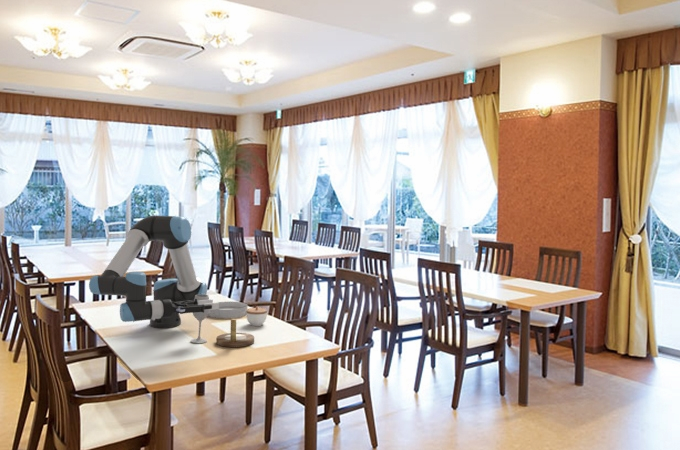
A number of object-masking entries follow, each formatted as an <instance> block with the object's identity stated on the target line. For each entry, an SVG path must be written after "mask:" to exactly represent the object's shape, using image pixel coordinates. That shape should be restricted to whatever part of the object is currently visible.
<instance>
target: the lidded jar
mask: <svg viewBox="0 0 680 450" xmlns="http://www.w3.org/2000/svg"><path fill="white" fill-rule="evenodd" d="M267 316H268V310H267V308H263V307H259V306H255V307H251V308H247V310H246V320H247V322H248V323H249V324H250V326H252V327H261V326H263V324H265V322H266V320H267V318H268V317H267Z"/></svg>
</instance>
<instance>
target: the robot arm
mask: <svg viewBox="0 0 680 450" xmlns="http://www.w3.org/2000/svg"><path fill="white" fill-rule="evenodd" d="M126 236H127V238H126V239H125V240H124V242H123V243H122V245H121V247H120V248H118V251H117V252H116V253H115V255H114V256H113V258H112V259H111V261H110V262H109V263H108V265H107V267H106V268H105V269H104V271H103V272H102V273H101V274H100V275H99V274H97V275H93V276H92V277H91V278H90V279H89V283H88V288H89V291H90V293H92V294H94V295H100V296H120V297H121V296H123V297H124V296H125V302H122V303H121V304H120V305H119V317H120V320H121V321H122V322H125V323H127V322H133V323H134V322H141V321H148V320H149V326H150V327H153V328H158V329H166V328H167V329H168V328H173V327H178V326H180V325H181V324H182V318H181V316H180V315H182V314H193V313H195V312H203V313H204V310H215V309H219V303H217V302H213V301H214V300H213V299H212V298H211V299H210V298H209V300H199V301H198V302H197V299H195V301H194V298H195V295H199V294H203V295H208V294H207V293H208V292H207V291H208V285H207V283H206V282H201V279H200V277H198V275H197V274H196V271H195V268H194V264H193V262H192V261H193V260H192V257H191V254H190V251H189V247H188V243H189V241H190V240H191V236H192V226H191V223H190V221H189V219H188V218H187V217H185V216H179V215H172V216H171V215H157V214H156V215H154V214H153V215H149V216H146V217H144V218H142V219H141V220H139V221H137V222H136V223H135V224H134V225H133V226H132V227H131V228H130V229H129V230H128V232H127V234H126ZM150 242H162V244H163V247H164V248H165V249H167V250H168V252H169V256H170V258H171V261H172V265H173V268H174V271H175V275H176V278H164V279H160V280H157V281H155V282H154V283H153V290H152V291H153V300H147V283H148V282H147V275H146V274H145V272H143V271H129V272H127V271H128V270H129V268H130V267H131V265H132V264H133V263H134V261H135V259H136V258H137V256H138V255H139V253H140V252H141V250H142V248H143V247H146V246H147V245H148V244H149V243H150Z"/></svg>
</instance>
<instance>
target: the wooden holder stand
mask: <svg viewBox="0 0 680 450" xmlns="http://www.w3.org/2000/svg"><path fill="white" fill-rule="evenodd" d="M215 343H216V345H217V346H221V347H226V348H241V347H247V346H250V345H252V344H254V343H255V336H254V335H253V334H251V333H246V332H237V318H230V332H228V333H223V334H219V335H218V336H216V342H215Z"/></svg>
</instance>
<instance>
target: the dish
mask: <svg viewBox="0 0 680 450" xmlns="http://www.w3.org/2000/svg"><path fill="white" fill-rule="evenodd" d="M216 303H219V309H215V310H210V311H209V314H208V317H211V318H215V317H216V319H237V318H242V317H245V316H246V317H247V315H246V310H247V309H248V308H249V307H248V304H247V303H245V302H241V301H217V302H216Z"/></svg>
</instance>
